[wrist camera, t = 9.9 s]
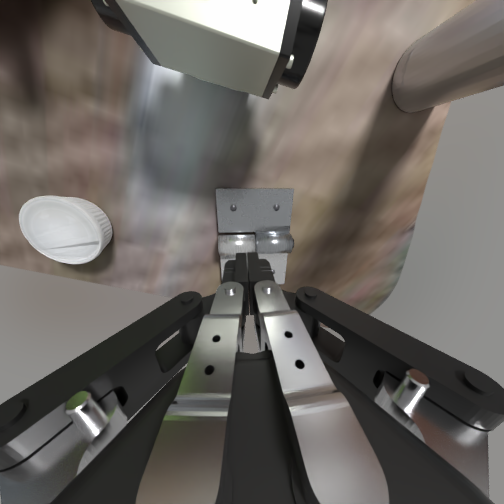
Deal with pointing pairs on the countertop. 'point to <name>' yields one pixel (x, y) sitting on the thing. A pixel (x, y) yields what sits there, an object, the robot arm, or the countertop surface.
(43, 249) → the ramekin
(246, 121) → the countertop surface
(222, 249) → the loose leaf
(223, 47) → the ball valve
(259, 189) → the fixed leaf
